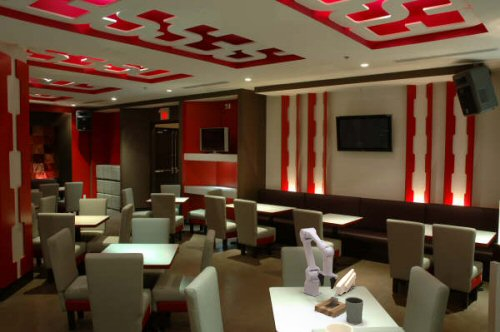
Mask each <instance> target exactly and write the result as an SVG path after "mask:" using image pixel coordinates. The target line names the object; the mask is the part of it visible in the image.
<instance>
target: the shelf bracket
mask: <svg viewBox="0 0 500 332" xmlns="http://www.w3.org/2000/svg"><path fill="white" fill-rule="evenodd" d="M356 279H357V273H356V272H355V269H354V268H351V270H349V271H348V272H347V273H346V274H345V275H344V276H343V277H342V278H341V279H340V280H339V281H338V282H337V284H335V292H336V293H335V294H336V295H341V296H342V295H343V294H344V292H346V293H347V292H348V291H349V290H350V289H351V287H352V286H355V285H356V282H355V281H356Z"/></svg>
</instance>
